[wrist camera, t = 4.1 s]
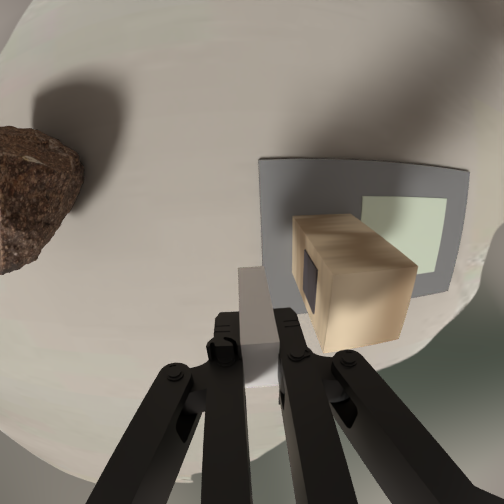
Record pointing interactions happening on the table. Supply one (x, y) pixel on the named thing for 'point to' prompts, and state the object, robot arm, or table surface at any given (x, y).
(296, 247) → the beech block
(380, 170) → the rubber mat
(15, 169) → the rock
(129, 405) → the table surface
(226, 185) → the table surface
